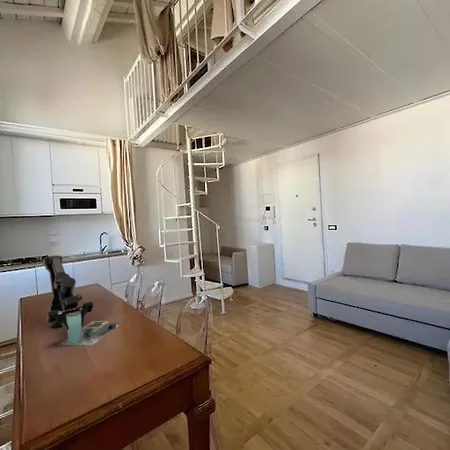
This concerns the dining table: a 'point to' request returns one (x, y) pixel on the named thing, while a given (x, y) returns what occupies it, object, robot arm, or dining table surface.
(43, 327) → the dining table surface
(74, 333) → the bottle
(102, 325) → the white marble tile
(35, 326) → the dining table surface
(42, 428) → the dining table surface
